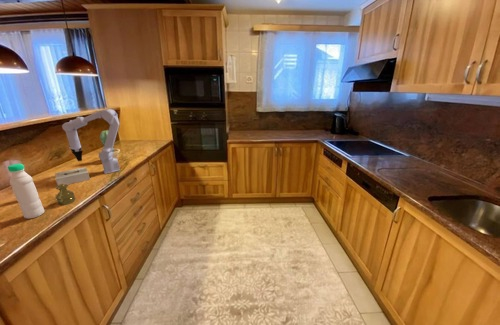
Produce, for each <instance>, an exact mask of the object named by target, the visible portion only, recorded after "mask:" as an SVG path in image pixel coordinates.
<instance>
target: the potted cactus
mask: <svg viewBox="0 0 500 325" xmlns="http://www.w3.org/2000/svg"><path fill="white" fill-rule="evenodd" d="M108 131H109V129H106V130H102V131H101V132H100V135H99V139H100V142H101V143H102V145H103V146H104V145H105V142H106V138H107V135H108ZM101 151H102V150H100V151H98V155H99V154H100V153H101ZM113 153H114V154H113V158H117V160H119V156H120V153H121V149H119V148H114V145H113Z"/></svg>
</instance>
